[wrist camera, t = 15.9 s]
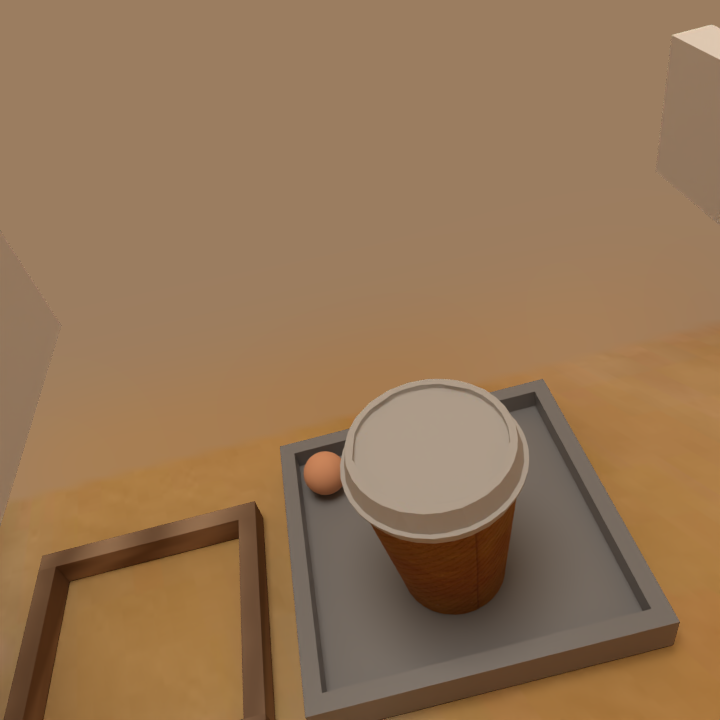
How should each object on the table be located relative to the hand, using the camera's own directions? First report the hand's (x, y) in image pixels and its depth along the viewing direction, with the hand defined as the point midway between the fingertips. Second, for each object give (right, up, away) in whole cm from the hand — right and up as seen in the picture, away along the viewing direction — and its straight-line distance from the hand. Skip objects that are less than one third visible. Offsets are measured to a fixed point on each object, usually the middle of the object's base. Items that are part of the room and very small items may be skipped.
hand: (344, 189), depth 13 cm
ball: (-2, -12, +34) cm, 36 cm away
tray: (+6, -15, +30) cm, 34 cm away
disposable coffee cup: (+6, -16, +27) cm, 32 cm away
